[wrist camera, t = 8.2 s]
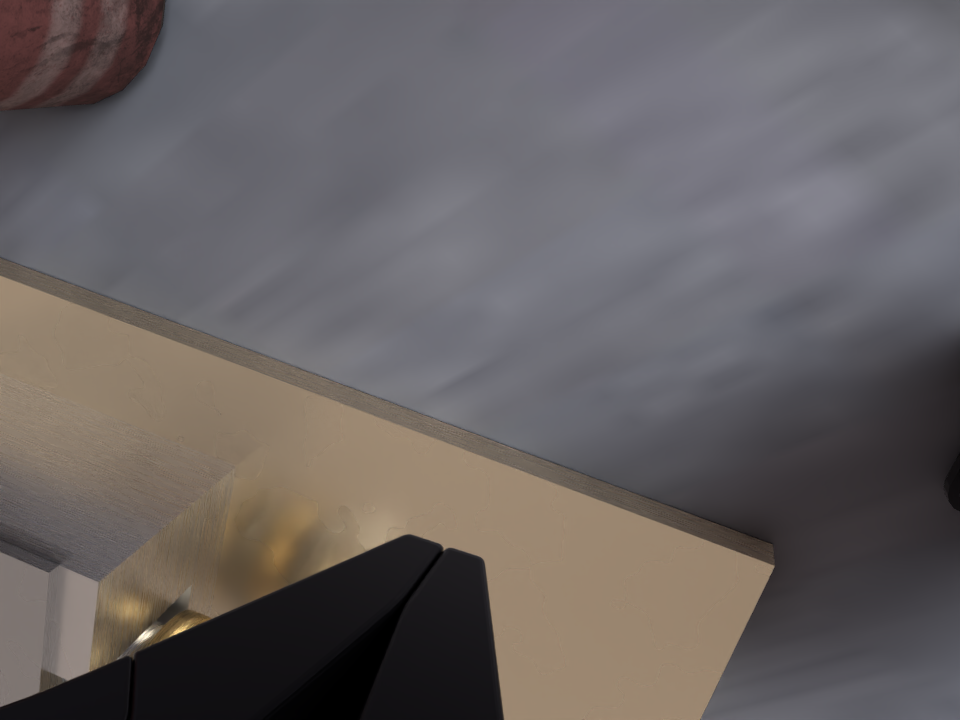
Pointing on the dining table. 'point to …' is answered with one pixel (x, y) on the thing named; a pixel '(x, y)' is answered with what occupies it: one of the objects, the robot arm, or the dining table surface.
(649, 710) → the bearing block
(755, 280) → the dining table surface
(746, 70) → the dining table surface
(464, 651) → the robot arm
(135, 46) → the can
